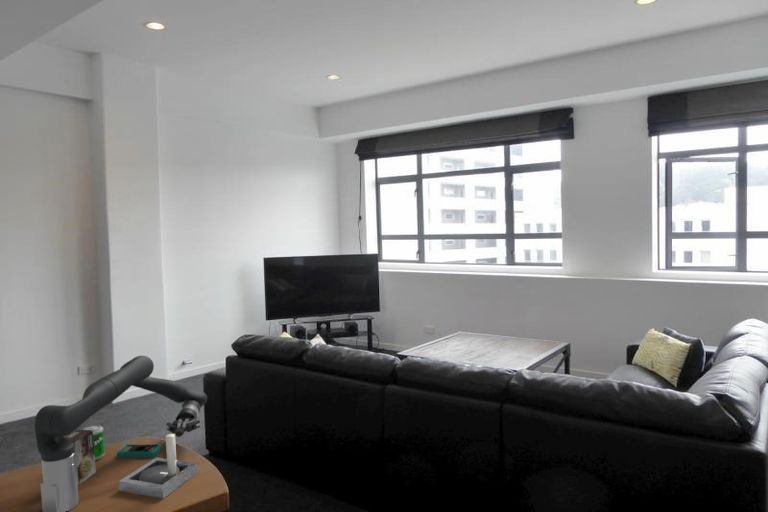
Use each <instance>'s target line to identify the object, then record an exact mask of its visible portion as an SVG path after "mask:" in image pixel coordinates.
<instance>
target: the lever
mask: <svg viewBox="0 0 768 512" xmlns="http://www.w3.org/2000/svg"><path fill="white" fill-rule="evenodd" d="M176 448H177V446H176V435H175V433H170V434H167V435H165V449H166V459H167V464H163V465H157V466H154V467H151V468H148V469H146V470H145V471H143V472H142V473H141V474H140V476H139V481H143V482H149V483H155V484H161V485H163V484H164V483H165V482H167V481H168V480H169V479H171V478H172V477H174V476H175V475H176V474H178V473H179V467H178V466H177V462H176V460H177V449H176Z"/></svg>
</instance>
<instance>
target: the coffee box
mask: <svg viewBox="0 0 768 512" xmlns="http://www.w3.org/2000/svg"><path fill="white" fill-rule="evenodd" d="M64 437H65V438H66V439H68V440H69V441H71V442H73V443H74V446H75V458H76V472H77V485H78V486H80V485H81V484H82V483H84V482H85V481H87V480H88V479H90V478H91V477H92V476H94V474H96V473H97V467H96V461H95V452H94V441H93V431H90V430H83V429H76V430H75V431H73V432H72V433H70V434H68V435H66V436H64ZM79 484H80V485H79Z"/></svg>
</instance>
